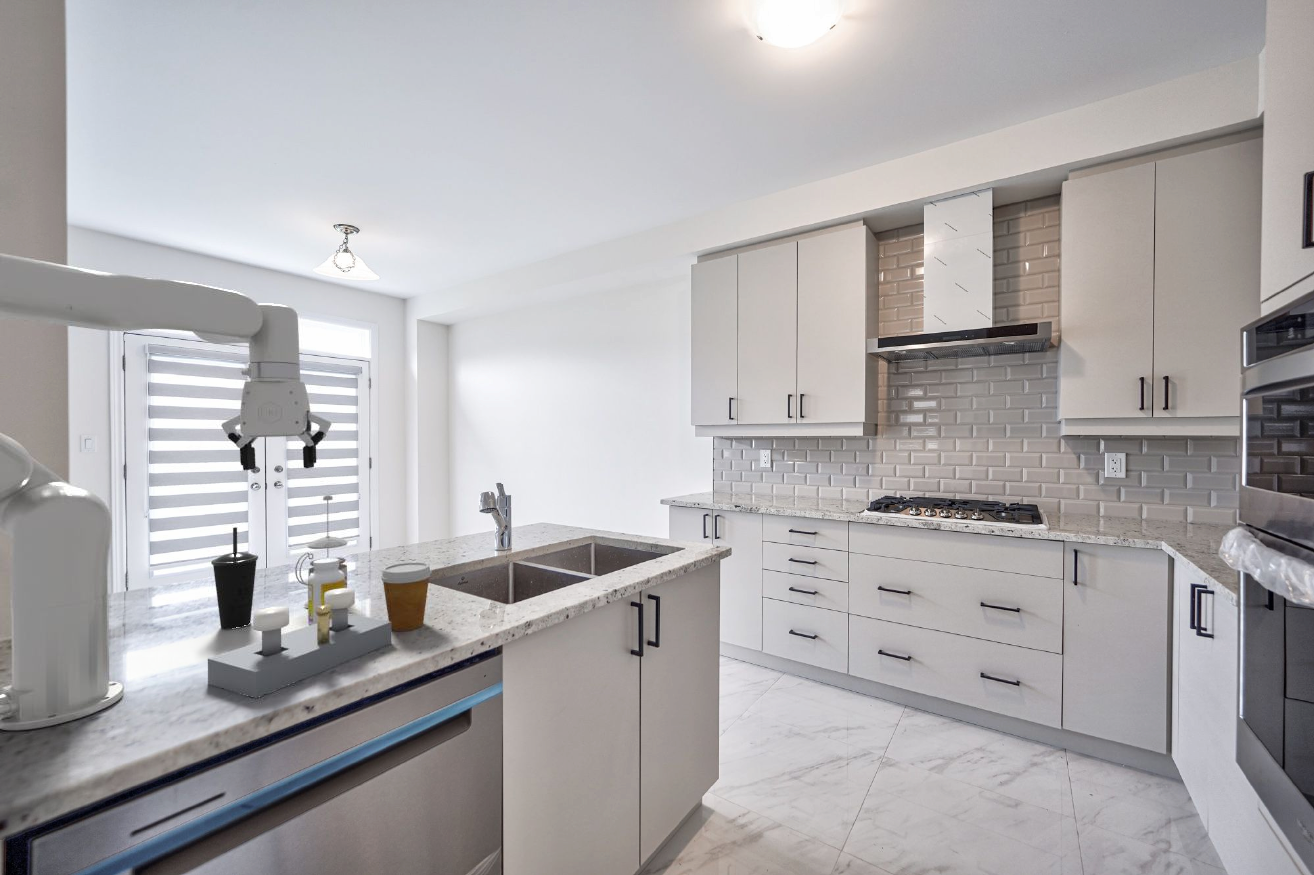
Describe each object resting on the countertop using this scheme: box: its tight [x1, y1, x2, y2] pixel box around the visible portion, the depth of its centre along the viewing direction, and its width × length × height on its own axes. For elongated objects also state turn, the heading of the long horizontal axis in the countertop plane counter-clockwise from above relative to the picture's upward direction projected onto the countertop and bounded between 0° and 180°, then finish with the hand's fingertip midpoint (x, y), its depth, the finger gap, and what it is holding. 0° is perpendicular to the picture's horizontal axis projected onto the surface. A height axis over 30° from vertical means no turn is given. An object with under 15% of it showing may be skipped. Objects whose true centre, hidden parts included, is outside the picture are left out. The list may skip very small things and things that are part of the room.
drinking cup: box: [211, 526, 259, 630], centre depth 114 cm, size 8×8×20 cm
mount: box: [207, 613, 392, 699], centre depth 96 cm, size 24×12×4 cm, turn 156°
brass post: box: [316, 605, 331, 644], centre depth 95 cm, size 2×2×6 cm
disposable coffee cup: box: [379, 561, 432, 632], centre depth 114 cm, size 10×10×12 cm
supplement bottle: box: [307, 557, 345, 626], centre depth 117 cm, size 7×7×13 cm
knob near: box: [252, 606, 290, 656], centre depth 91 cm, size 5×5×7 cm
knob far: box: [324, 587, 356, 632], centre depth 102 cm, size 5×5×7 cm
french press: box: [294, 494, 349, 609], centre depth 129 cm, size 10×12×25 cm
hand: (279, 468), depth 102 cm, fingers open, 9 cm apart
